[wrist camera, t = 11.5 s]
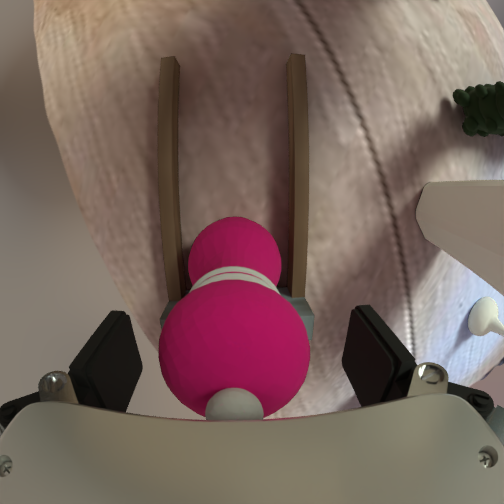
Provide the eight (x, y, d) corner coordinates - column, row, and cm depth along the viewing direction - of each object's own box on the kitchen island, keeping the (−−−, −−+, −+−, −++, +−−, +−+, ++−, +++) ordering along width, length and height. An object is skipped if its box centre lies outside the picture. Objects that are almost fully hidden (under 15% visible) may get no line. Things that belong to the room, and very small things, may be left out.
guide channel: (298, 64, 21) (315, 38, 15) (297, 308, 28) (311, 339, 22) (167, 67, 20) (150, 41, 15) (177, 311, 27) (164, 343, 21)
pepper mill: (236, 299, 27) (241, 495, 8) (181, 251, 25) (77, 417, 6) (289, 248, 26) (397, 410, 7) (233, 194, 24) (221, 265, 5)
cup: (473, 224, 26) (573, 263, 10) (426, 273, 28) (528, 343, 11) (442, 147, 24) (564, 151, 7) (388, 195, 25) (527, 231, 8)
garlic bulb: (458, 329, 32) (486, 360, 24) (474, 294, 29) (506, 322, 22) (479, 326, 32) (505, 352, 25) (493, 293, 30) (523, 317, 22)
